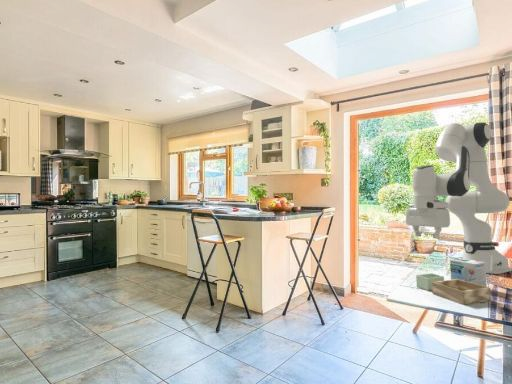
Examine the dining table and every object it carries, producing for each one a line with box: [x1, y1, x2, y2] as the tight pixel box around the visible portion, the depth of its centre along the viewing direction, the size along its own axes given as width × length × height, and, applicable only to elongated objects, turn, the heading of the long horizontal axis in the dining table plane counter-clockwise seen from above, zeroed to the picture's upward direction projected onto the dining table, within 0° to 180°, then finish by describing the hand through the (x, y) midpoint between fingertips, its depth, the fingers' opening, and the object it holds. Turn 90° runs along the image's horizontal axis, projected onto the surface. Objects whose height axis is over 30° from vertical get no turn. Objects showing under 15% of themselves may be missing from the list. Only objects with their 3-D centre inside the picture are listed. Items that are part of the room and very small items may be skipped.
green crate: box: [415, 272, 445, 292], centre depth 128 cm, size 8×6×5 cm
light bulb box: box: [449, 257, 488, 287], centre depth 128 cm, size 11×7×11 cm, turn 23°
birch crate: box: [432, 279, 492, 305], centre depth 116 cm, size 12×13×4 cm
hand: (426, 237), depth 129 cm, fingers open, 8 cm apart
